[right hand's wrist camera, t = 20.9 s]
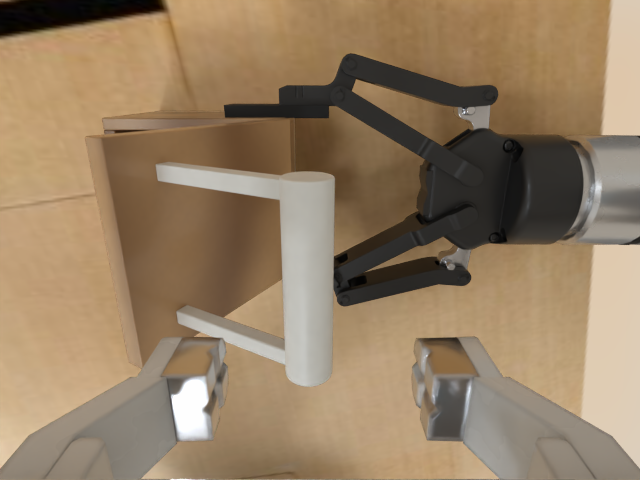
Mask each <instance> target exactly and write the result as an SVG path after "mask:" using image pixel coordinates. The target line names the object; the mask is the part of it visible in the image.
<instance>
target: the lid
mask: <svg viewBox="0 0 640 480" xmlns="http://www.w3.org/2000/svg"><path fill="white" fill-rule="evenodd" d="M85 141H86V146H87V151H88V156H89V161H90V166H91V171H92V176H93V182H94V187H95V192H96V197H97V202H98V207H99V212H100V217H101V222H102V228H103V233H104V238H105V243H106V248H107V253H108V258H109V263H110V269H111V274H112V279H113V284H114V289H115V294H116V299H117V304H118V310H119V315H120V320H121V325H122V330H123V335H124V340H125V345H126V350H127V356H128V361H129V363H131V364H133V365H135V366H137V367H139V368H141V369H142V368H143V367H144V365H145V363H146V362H147V360H148V359H149V357H150V356H151V354H152V353H153V351H154V350H155V348H156V347H157V345H158V343H159V342H160V340H161V339H162V338H164V337H194V336H195V335H197V334H198V333H200V332H202V333H204V334H207V335H209V336H212V337H215V338H223V339H224V340H225V342H227V343H230V344H233V345H235V346H238V347H240V348H243V349H245V350H248V351H251V352H253V353H256V354H258V355H261V356H263V357H266V358H269V359H271V360H274V361H276V362H279V363H281V364H284V365H285V369H286V375H287V377H288V379H289V380H290V381H291V382H293V383H295V384H297V385H300V386H305V387H311V386H317V385H320V384H322V383H324V382H326V381H327V380H328V379H329V378H330V376H331V374H332V350H333V278H334V207H335V177H334V176H333V175H331V174H328V173H323V172H313V171H302V172H291V144H290V120H289V119H268V120H257V121H246V122H236V123H225V124H214V125H203V126H192V127H181V128H170V129H159V130H149V131H138V132H127V133H116V134H105V135H94V136H86V137H85ZM281 279H282V282H283V311H284V339H282V338H279V337H277V336H274V335H271V334H268V333H265V332H262V331H260V330H257V329H254V328H251V327H248V326H245V325H243V324H240V323H237V322H234V321H231V320H228V319H226V318H223V317H224V316H226V315H227V314H229V313H231V312H232V311H234V310H235V309H237V308H238V307H240V306H241V305H243V304H244V303H246V302H247V301H249V300H251V299H252V298H254V297H255V296H257V295H258V294H260V293H261V292H263V291H264V290H266V289H267V288H269V287H270V286H272V285H274V284H275V283H277V282H278V281H280V280H281Z"/></svg>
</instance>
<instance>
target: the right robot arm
mask: <svg viewBox="0 0 640 480" xmlns="http://www.w3.org/2000/svg"><path fill="white" fill-rule="evenodd" d="M225 354H226V346H225V340H224V339H223V338H213V337H164V338H162V339H161V340H160V342H159V343H158V345H157V347H156V348H155V350H154V351H153V353H152V354H151V356H150V357H149V359H148V360H147V362H146V363H145V365H144V367H143V368H142V370H141V371H140V373H139V374H138V376H137V377H130V378H128V379H126V380H125V381H123V382H121V383H120V384H118V385H116V386H114V387H113V388H111V389H109V390H107V391H106V392H104V393H102V394H100V395H99V396H97V397H95V398H93V399H92V400H90V401H88V402H86V403H85V404H83V405H81V406H79V407H78V408H76V409H74V410H72V411H71V412H69V413H67V414H65V415H64V416H62V417H60V418H59V419H57V420H55V421H53V422H52V423H50V424H48V425H46V426H45V427H43V428H41V429H39V430H38V431H36V432H34V433H32V434H31V435H29V436H28V437H27V438H26V439H25V441H24V442H23V443H22V444H21V445H20V446H19V448H18V449H17V450H16V451H15V452H14V453H13V455H12V456H11V457H10V458H9V459H8V461H7V462H6V463H5V464H4V465H3V466H2V468H1V469H0V480H640V469H639V467H638V466H637V465H636V464H635V463H634V462H633V460H632V459H631V458H630V457H629V456H628V454H627V453H626V452H625V451H624V450H623V449H622V447H621V446H620V445H619V444H618V443H617V442H616V440H615V439H614V438H613V437H612V436H611V435H609V434H607V433H605V432H604V431H602V430H600V429H599V428H597V427H595V426H593V425H592V424H590V423H588V422H586V421H585V420H583V419H581V418H579V417H578V416H576V415H574V414H573V413H571V412H569V411H567V410H566V409H564V408H562V407H560V406H559V405H557V404H555V403H553V402H552V401H550V400H548V399H546V398H545V397H543V396H541V395H540V394H538V393H536V392H534V391H533V390H531V389H529V388H527V387H526V386H524V385H522V384H520V383H519V382H517V381H515V380H513V379H512V378H510V377H503V376H502V374H501V373H500V371H499V370H498V368H497V367H496V365H495V364H494V362H493V361H492V359H491V358H490V356H489V355H488V353H487V351H486V350H485V348H484V347H483V345H482V344H481V342H480V341H479V339H478V338H476V337H455V338H416V341H415V345H414V354H415V357H416V360H417V362H416V363H415V364H414V365H413V367H412V391H413V396H414V400H415V403H416V405H417V406H418V407H419V408H421V414H420V420H421V423H422V426H423V429H424V432H425V436H426V439H427V440H432V441H463V443H464V444H465V445H466V446H467V447H468V448H469V449H470V450H471V451H472V452H473V453H474V454H475V455H476V456H477V457H478V458H479V459H480V460H481V461H482V462H483V463H484V464H485V465H486V466H487V467H488V468H489V469H490V470H491V471H492V472H493V473H494V474H495V475H496V476H497V477H498V478H499V479H141V478H142V477H143V476H144V475H145V474H146V473H147V472H148V471H149V470H150V469H151V468H152V467H153V466H154V465H155V464H156V463H157V462H158V461H159V460H160V459H161V458H162V457H163V456H164V455H165V454H166V453H167V452H168V451H169V450H171V449H172V448H173V447H174V446H175V445H176V444H177V442H176V441H207V440H213V439H214V436H215V433H216V429H217V426H218V423H219V420H220V414H219V408H221V407H222V406H223V405H224V403H225V400H226V396H227V390H228V367H227V365H226V364H225V363H224V362H223V360H224V357H225Z"/></svg>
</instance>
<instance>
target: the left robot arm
mask: <svg viewBox="0 0 640 480" xmlns="http://www.w3.org/2000/svg"><path fill="white" fill-rule="evenodd" d="M356 79H357V80H361V81H364V82H367V83H371V84H374V85H377V86H380V87H384V88H387V89H390V90H393V91H397V92H400V93H403V94H406V95H410V96H413V97H416V98H419V99H423V100H426V101H429V102H433V103H436V104H440V105H445V106H453V107H454V109H453V110H454V114H455V116H456V117H457V118H460V119H464V120H466V121H467V122H468V125H469V129H467V130H466V131H464V132H463V133H461V134H460V135H458V136H457V137H455V138H454V139H452V140H451V141H449V142H448V143H446V144H445V145H444V146H441V145H439V144H438V143H436V142H434V141H432V140H431V139H429V138H427V137H426V136H424V135H422V134H421V133H419V132H417V131H416V130H414V129H413V128H411V127H409V126H408V125H406V124H404V123H403V122H401V121H399V120H398V119H396V118H395V117H393V116H391V115H390V114H388V113H386V112H385V111H383V110H381V109H380V108H378V107H377V106H375V105H373V104H372V103H370V102H368V101H367V100H365V99H363V98H362V97H360V96H359V95H357V94H355V93H354V92H352V88H353V86H354V83H355V80H356ZM497 98H498V90H497V89H496V87H494V86H492V85H477V86H463V87H459V86H456V85H453V84H449V83H446V82H443V81H440V80H437V79H433V78H430V77H427V76H424V75H421V74H417V73H414V72H411V71H408V70H404V69H401V68H398V67H395V66H392V65H388V64H385V63H382V62H379V61H376V60H372V59H369V58H366V57H363V56H360V55H356V54H348V55H346V56H345V57H344V58H343V59H342V61H341V63H340V66H339V69H338V72H337V75H336V77H335V79H334V81H333V82H332V83H331V84H329V85H325V86H292V85H287V86H284V87H282V88H280V89H279V104H229V105H224V112H225V117H284V118H329V106H337V107H339V108H341V109H342V110H344V111H346V112H347V113H349V114H351V115H352V116H354V117H356V118H357V119H359V120H361V121H362V122H364V123H366V124H367V125H369V126H371V127H372V128H374V129H376V130H377V131H379V132H381V133H382V134H384V135H386V136H387V137H389V138H391V139H392V140H394V141H396V142H397V143H399V144H401V145H402V146H404V147H406V148H407V149H409V150H411V151H412V152H414V153H416V154H417V155H419V156H420V157H422V158H424V159H425V161H424V163H423V165H420V174H419V177H420V182H421V189H420V192H419V195H418V197H417V209H418V210H419V211H417V212H415V213H413V214H411V215H410V216H408V217H407V218H406V219H405V220H404V221H403V222H401V223H399V224H397V225H395V226H393V227H391V228H389V229H387V230H385V231H383V232H381V233H379V234H377V235H376V236H374V237H372V238H370V239H368V240H366V241H364V242H362V243H360V244H358V245H356V246H354V247H352V248H350V249H348V250H346V251H344V252H342V253H340V254H338V255H336V256H334V278H333V289H334V291H335V294H336V297H337V302H338V303H339V304H340V305H341V306H349V305H354V304H358V303H362V302H366V301H370V300H375V299H379V298H383V297H387V296H391V295H395V294H400V293H404V292H408V291H412V290H416V289H421V288H425V287H429V286H433V285H437V284H442V285H456V286H465V285H467V284H468V283H469V282H470V280H471V275H470V273H469V272H468V271H467V266H468V262H469V257H470V253H471V249H475V248H477V247H479V246H481V245H484V244H489V243H493V244H552V243H555V242H556V243H558V244H562V245H597V244H598V245H601V244H602V245H604V244H619V245H630V244H635V245H640V136H616V135H569V136H566V137H562V136H559V135H501V134H497V133H495V132H493V131H492V130H490V129H489V117H490V105H492V104H493V103H494V102H495V101H496V100H497ZM441 237H445V238H446V239H447V240H449V241H450V242H451V243H453V244H454V246H453V247H452V248H451V249H450V250H448V251H441V252H440V253H439V254H438V256H437V257H426V258H421V259H416V260H412V261H408V262H404V263H400V264H396V265H392V266H388V267H384V268H380V269H376V270H372V271H368V272H365V271H367V270H369V269H371V268H373V267H375V266H378V265H380V264H382V263H384V262H386V261H388V260H390V259H392V258H394V257H396V256H398V255H400V254H402V253H404V252H406V251H408V250H410V249H412V248H414V247H416V246H424V245H427V244H429V243H431V242H433V241H435V240H437V239H439V238H441ZM363 272H364V273H363Z"/></svg>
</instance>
